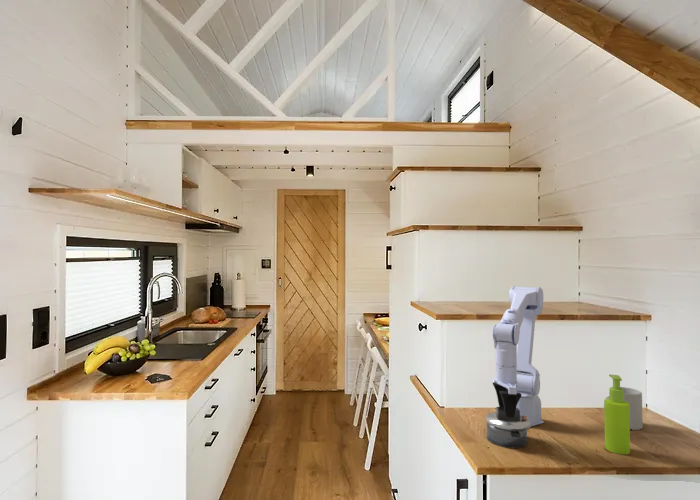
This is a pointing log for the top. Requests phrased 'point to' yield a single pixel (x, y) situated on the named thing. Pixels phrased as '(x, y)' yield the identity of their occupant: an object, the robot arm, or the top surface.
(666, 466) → the top surface
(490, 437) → the cooker pot
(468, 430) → the top surface
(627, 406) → the soap dispenser
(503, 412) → the cooker lid
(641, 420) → the mug
